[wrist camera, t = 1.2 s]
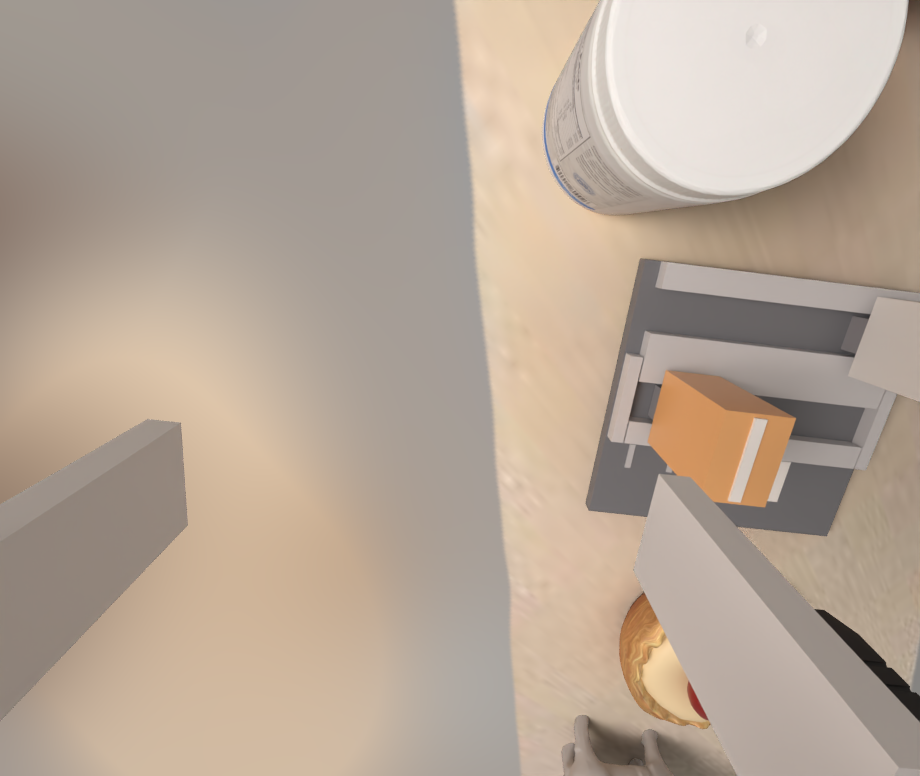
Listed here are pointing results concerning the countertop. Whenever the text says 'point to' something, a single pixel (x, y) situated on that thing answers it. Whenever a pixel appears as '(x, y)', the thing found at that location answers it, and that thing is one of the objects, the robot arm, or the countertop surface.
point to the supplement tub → (712, 97)
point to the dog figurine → (591, 772)
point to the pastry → (656, 669)
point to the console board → (761, 380)
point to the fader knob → (719, 436)
